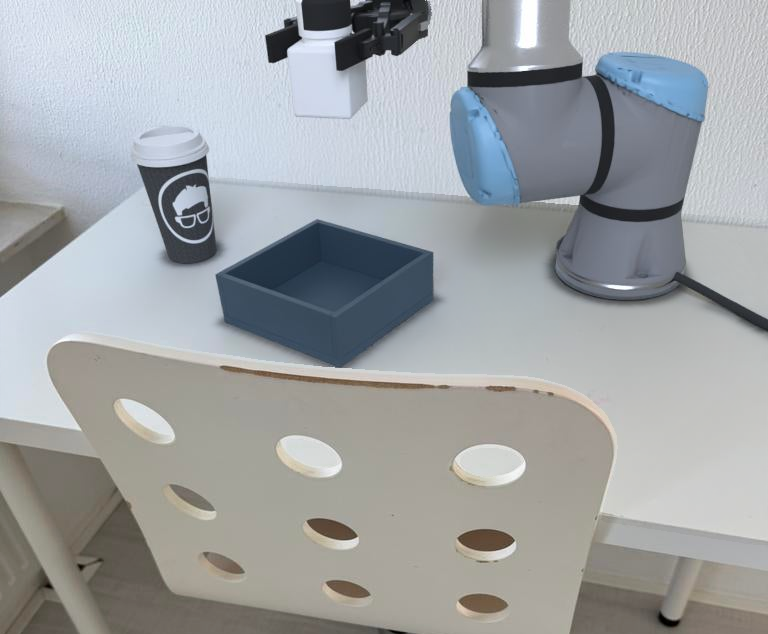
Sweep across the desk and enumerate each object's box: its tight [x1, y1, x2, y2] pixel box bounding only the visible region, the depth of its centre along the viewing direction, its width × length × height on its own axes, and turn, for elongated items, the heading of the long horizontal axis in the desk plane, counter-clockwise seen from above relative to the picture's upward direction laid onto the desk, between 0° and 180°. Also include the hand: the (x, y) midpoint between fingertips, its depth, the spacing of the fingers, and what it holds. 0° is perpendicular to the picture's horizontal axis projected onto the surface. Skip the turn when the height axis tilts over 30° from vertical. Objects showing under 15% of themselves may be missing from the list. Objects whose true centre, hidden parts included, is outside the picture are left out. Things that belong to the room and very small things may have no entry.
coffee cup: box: [130, 124, 218, 264], centre depth 99 cm, size 10×10×15 cm
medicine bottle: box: [287, 0, 369, 120], centre depth 88 cm, size 7×7×12 cm
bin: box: [214, 218, 434, 368], centre depth 89 cm, size 18×18×6 cm
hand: (303, 52), depth 84 cm, fingers closed on medicine bottle, 8 cm apart
